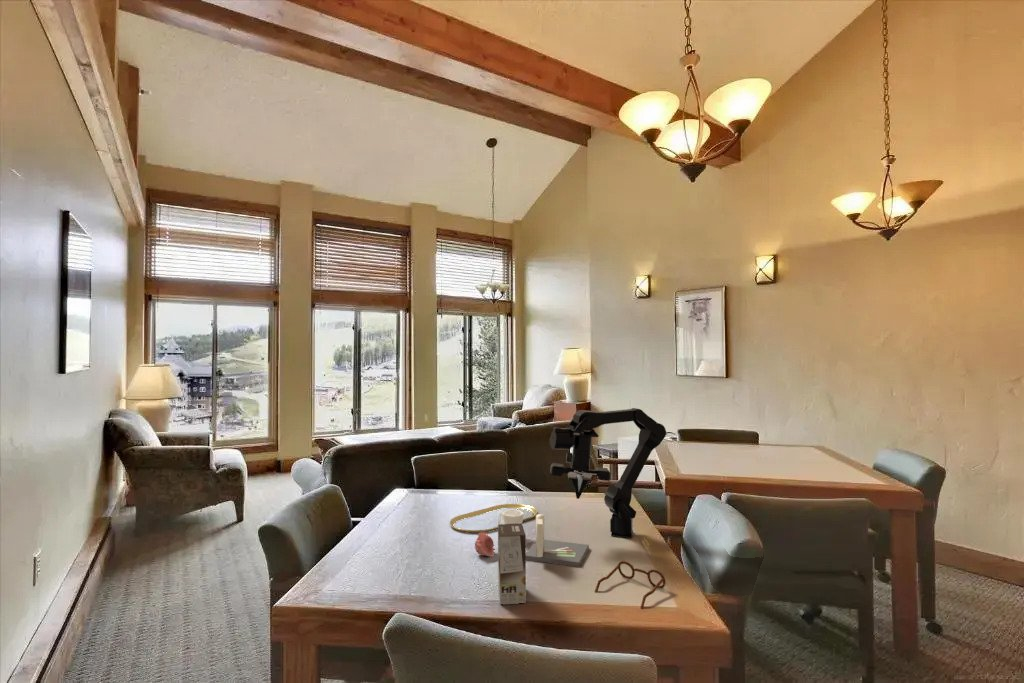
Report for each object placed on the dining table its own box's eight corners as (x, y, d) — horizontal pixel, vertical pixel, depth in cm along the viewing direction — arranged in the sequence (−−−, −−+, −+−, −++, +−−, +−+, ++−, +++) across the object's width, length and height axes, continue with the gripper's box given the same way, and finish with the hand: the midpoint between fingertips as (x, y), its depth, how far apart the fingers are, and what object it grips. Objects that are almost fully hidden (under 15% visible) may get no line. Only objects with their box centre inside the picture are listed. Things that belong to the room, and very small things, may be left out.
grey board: (588, 548, 156) (588, 544, 156) (579, 566, 143) (578, 562, 143) (537, 542, 161) (537, 538, 161) (523, 559, 148) (523, 554, 148)
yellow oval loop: (547, 515, 189) (547, 511, 190) (472, 539, 166) (472, 534, 166) (513, 505, 203) (513, 501, 203) (439, 525, 180) (439, 520, 180)
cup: (512, 543, 160) (512, 517, 161) (491, 535, 168) (491, 510, 168) (528, 538, 165) (528, 513, 165) (507, 530, 173) (507, 506, 173)
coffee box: (526, 604, 122) (526, 535, 122) (499, 605, 121) (499, 536, 122) (522, 586, 131) (522, 522, 131) (497, 587, 130) (497, 523, 131)
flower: (465, 534, 152) (480, 525, 151) (481, 538, 158) (495, 529, 157) (472, 560, 147) (487, 551, 146) (488, 563, 153) (503, 555, 152)
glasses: (666, 591, 129) (666, 571, 129) (641, 611, 119) (641, 589, 119) (619, 576, 137) (619, 557, 138) (593, 594, 128) (592, 573, 128)
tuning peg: (536, 548, 153) (536, 512, 153) (571, 548, 152) (571, 512, 152) (535, 560, 144) (535, 522, 144) (573, 561, 143) (573, 522, 143)
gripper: (607, 447, 173) (603, 494, 173) (552, 442, 174) (548, 488, 174) (612, 454, 162) (608, 504, 162) (553, 449, 163) (548, 498, 163)
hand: (577, 498), depth 166 cm, fingers closed
